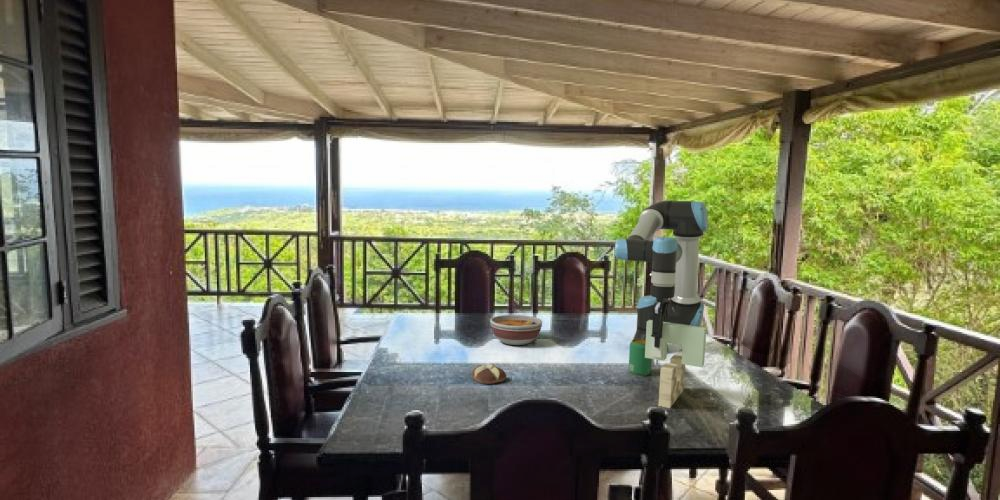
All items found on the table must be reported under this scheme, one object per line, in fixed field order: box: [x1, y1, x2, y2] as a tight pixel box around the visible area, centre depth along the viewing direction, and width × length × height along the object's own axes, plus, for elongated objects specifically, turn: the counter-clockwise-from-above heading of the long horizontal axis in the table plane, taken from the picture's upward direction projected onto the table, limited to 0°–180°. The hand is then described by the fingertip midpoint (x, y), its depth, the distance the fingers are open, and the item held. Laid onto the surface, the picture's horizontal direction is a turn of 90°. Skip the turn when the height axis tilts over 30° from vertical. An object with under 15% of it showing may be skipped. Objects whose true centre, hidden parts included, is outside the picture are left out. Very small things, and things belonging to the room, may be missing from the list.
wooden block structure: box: [658, 353, 686, 409], centre depth 178 cm, size 20×4×12 cm, turn 150°
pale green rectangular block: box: [645, 320, 707, 368], centre depth 177 cm, size 18×4×12 cm, turn 60°
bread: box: [471, 363, 507, 385], centre depth 191 cm, size 11×11×5 cm
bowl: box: [489, 314, 543, 346], centre depth 241 cm, size 23×23×10 cm
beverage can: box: [628, 338, 652, 377], centre depth 202 cm, size 8×8×12 cm
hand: (658, 355), depth 180 cm, fingers closed on pale green rectangular block, 3 cm apart
